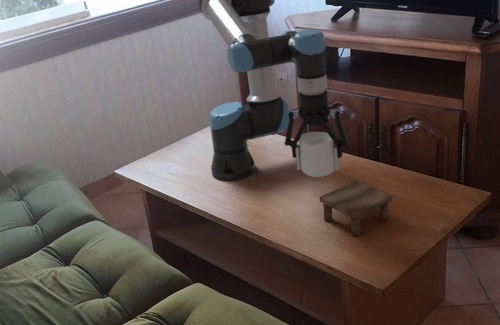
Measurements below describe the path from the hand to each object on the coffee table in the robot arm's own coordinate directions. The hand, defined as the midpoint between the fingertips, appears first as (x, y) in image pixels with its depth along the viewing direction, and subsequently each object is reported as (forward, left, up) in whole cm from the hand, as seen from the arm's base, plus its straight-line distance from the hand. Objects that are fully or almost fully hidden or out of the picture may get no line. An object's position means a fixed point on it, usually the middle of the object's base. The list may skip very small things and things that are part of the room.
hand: (318, 167), depth 165 cm
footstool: (+7, +6, -16) cm, 19 cm away
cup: (0, 0, -1) cm, 1 cm away
